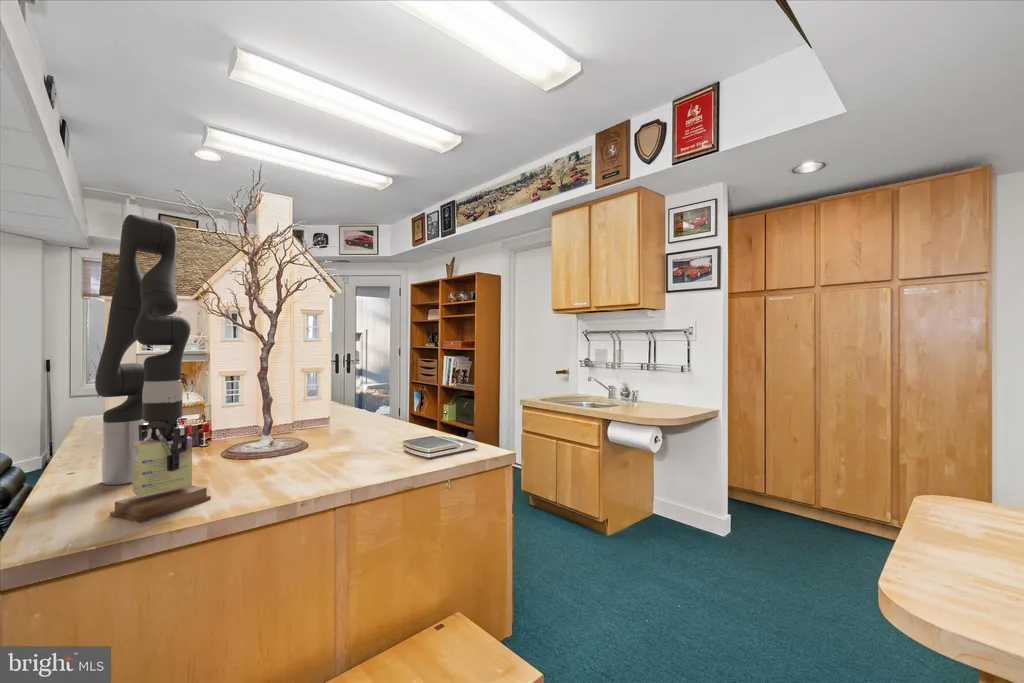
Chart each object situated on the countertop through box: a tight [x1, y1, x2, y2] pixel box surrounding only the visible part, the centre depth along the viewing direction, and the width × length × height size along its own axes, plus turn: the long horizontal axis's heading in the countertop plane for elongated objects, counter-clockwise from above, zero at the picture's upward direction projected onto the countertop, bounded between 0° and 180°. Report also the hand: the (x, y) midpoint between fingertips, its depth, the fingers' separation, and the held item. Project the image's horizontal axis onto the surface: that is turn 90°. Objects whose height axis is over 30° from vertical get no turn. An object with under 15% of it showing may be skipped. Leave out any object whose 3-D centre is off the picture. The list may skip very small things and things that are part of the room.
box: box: [131, 435, 193, 496], centre depth 106 cm, size 10×6×12 cm, turn 141°
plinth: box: [109, 485, 212, 523], centre depth 106 cm, size 11×15×3 cm
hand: (162, 468), depth 106 cm, fingers open, 7 cm apart
